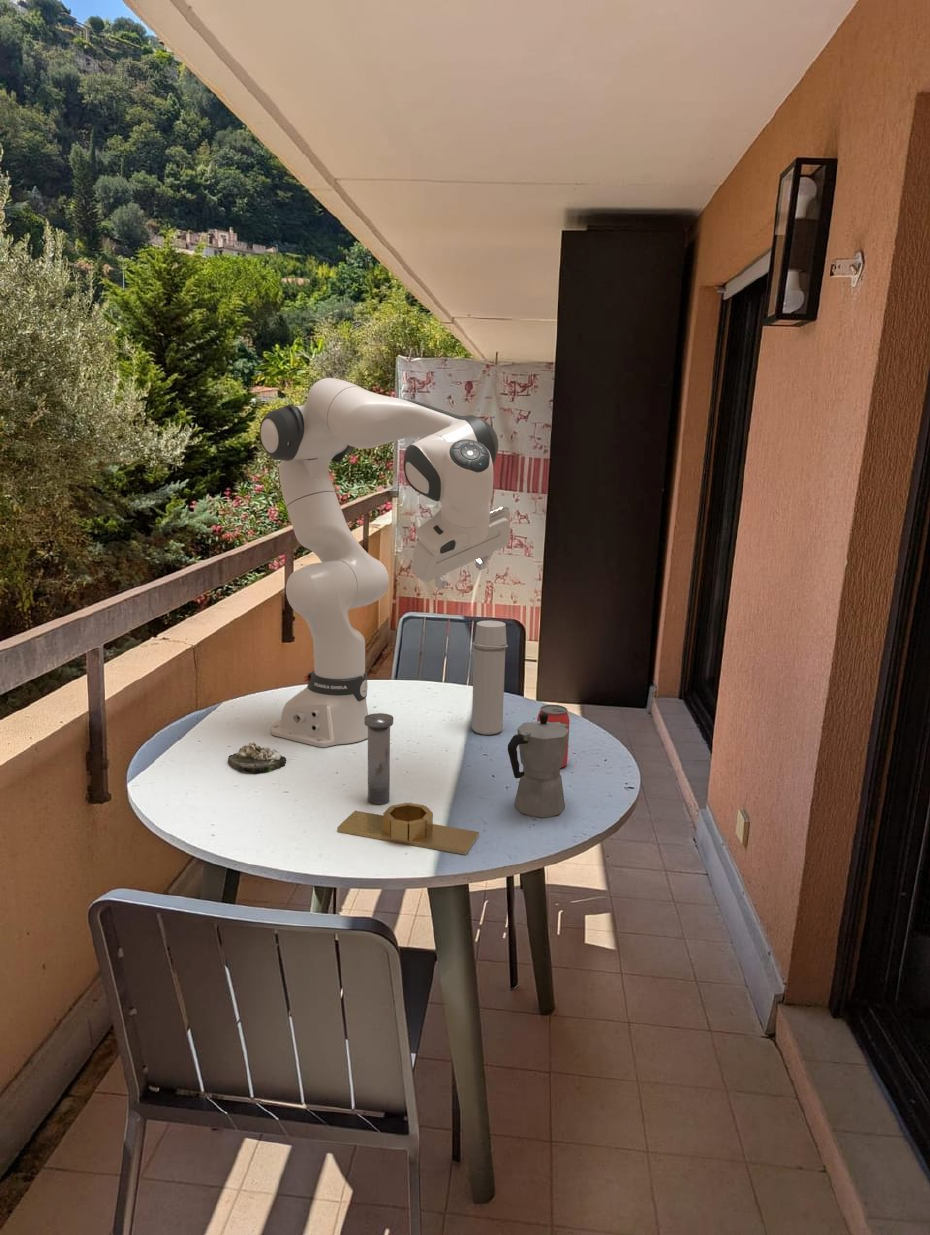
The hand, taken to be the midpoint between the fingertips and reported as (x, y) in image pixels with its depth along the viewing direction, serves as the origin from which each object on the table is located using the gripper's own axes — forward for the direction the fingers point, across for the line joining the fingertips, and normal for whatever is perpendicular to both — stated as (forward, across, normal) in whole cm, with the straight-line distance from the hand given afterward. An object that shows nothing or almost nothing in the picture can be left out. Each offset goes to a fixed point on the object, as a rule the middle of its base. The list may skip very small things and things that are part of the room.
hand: (460, 576), depth 167 cm
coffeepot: (+21, +10, +40) cm, 46 cm away
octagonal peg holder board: (+15, +33, +34) cm, 50 cm away
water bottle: (+45, -5, +9) cm, 46 cm away
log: (+34, +46, -4) cm, 57 cm away
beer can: (+33, -5, +29) cm, 44 cm away
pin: (+23, +32, +22) cm, 45 cm away
